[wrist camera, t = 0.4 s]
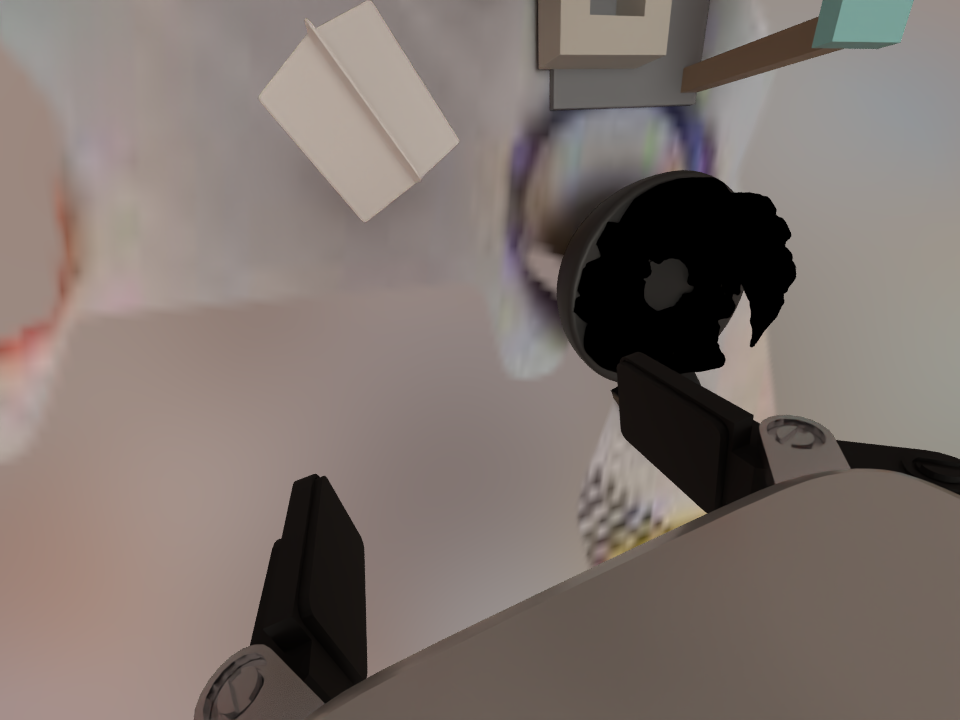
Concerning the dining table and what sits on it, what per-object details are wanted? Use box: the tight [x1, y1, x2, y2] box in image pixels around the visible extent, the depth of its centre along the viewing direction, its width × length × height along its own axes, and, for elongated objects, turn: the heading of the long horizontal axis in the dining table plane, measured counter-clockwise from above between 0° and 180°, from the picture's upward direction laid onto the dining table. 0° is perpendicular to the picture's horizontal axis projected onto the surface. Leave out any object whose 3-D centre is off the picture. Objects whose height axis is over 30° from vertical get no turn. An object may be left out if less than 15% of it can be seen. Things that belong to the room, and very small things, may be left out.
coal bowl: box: [557, 170, 796, 382], centre depth 36 cm, size 20×20×19 cm
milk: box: [258, 0, 459, 222], centre depth 23 cm, size 6×6×22 cm
